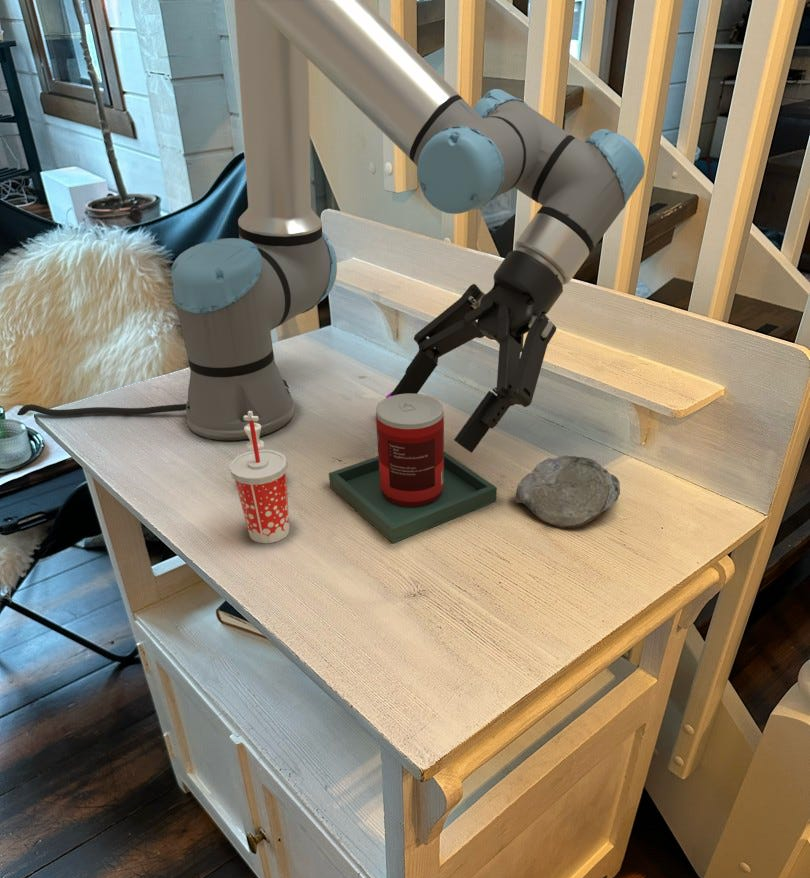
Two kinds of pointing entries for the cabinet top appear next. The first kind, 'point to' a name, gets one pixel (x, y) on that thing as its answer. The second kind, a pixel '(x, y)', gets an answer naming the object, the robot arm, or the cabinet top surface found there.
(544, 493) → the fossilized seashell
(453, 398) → the cabinet top surface
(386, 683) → the cabinet top surface
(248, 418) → the chess piece
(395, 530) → the tray
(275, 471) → the beverage cup
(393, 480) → the canned food
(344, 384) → the cabinet top surface
